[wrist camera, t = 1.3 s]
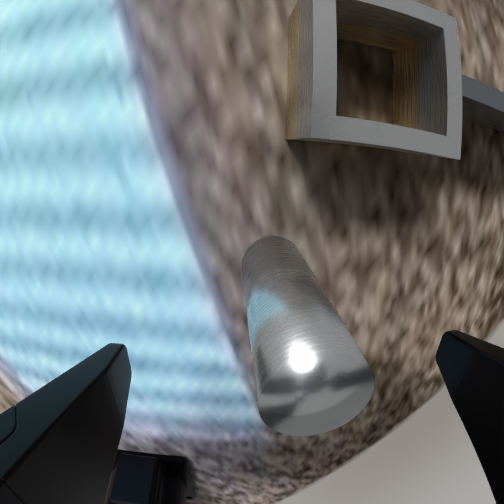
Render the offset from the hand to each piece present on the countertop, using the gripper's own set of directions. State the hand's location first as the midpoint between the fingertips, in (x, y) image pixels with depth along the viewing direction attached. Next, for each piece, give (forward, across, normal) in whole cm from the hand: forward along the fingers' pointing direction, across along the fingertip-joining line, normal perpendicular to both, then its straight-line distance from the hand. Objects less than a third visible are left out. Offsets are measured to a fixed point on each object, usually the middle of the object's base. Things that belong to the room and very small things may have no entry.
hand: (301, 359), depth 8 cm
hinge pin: (+6, 0, 0) cm, 6 cm away
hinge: (+6, -7, -13) cm, 16 cm away
